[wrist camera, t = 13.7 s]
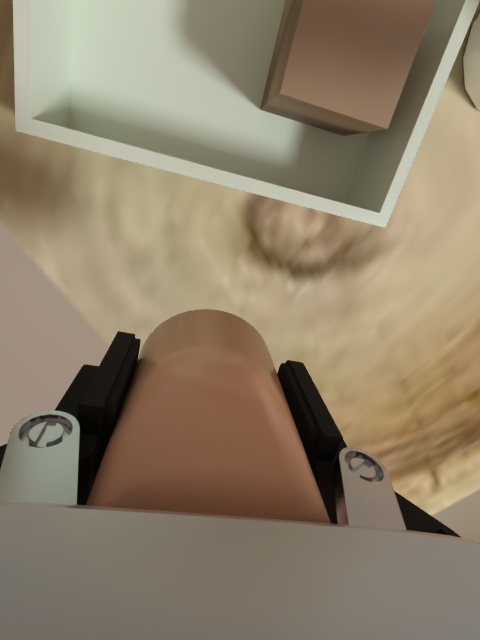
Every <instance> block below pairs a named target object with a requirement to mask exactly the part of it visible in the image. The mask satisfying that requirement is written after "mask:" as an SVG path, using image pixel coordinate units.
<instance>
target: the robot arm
mask: <svg viewBox="0 0 480 640" xmlns="http://www.w3.org/2000/svg"><path fill="white" fill-rule="evenodd" d="M139 347H140V339H135V334H131V333H125V332H119V331H118V333H117V334H116V336H115V338H114V340H113V342H112V344H111V345H110V347H109V349H108V351H107V353H106V355H105V357H104V358H103V360H102V362H101V364H100V366H92V365H83V367H82V368H81V369H80V371H79V373H78V374H77V376H76V377H75V379H74V380H73V382H72V384H71V385H70V387H69V389H68V390H67V392H66V393H65V395H64V396H63V398H62V399H61V401H60V403H59V404H58V406H57V408H56V409H55V411H50V410H49V411H42V412H37V413H34V414H31V415H29V416H27V417H25V418H23V419H21V420H20V421H19V422H18V423H17V424H16V425H15V426H14V427H13V429H12V431H11V433H10V437H9V440H8V444H5V445H3V446H0V640H480V543H479V542H476V541H473V540H469V539H465V538H461V537H460V536H459V535H458V534H456V533H455V532H454V531H453V530H451V529H450V528H448V527H447V526H445V525H444V524H442V523H441V522H439V521H438V520H436V519H435V518H433V517H432V516H430V515H429V514H427V513H426V512H425V511H423V510H422V509H420V508H419V507H417V506H416V505H414V504H413V503H411V502H410V501H408V500H407V499H405V498H404V497H402V496H401V495H399V494H398V493H396V492H395V491H394V489H393V486H392V483H391V480H390V476H389V473H388V471H387V469H386V468H385V466H384V465H383V464H382V463H381V461H379V460H378V459H377V458H376V457H375V456H373V455H372V454H370V453H368V452H367V451H364V450H362V449H359V448H355V447H347V446H346V444H345V442H344V440H343V437H342V435H341V433H340V431H339V430H338V428H337V426H336V424H335V422H334V420H333V418H332V416H331V415H330V413H329V411H328V409H327V407H326V405H325V403H324V401H323V399H322V398H321V396H320V394H319V392H318V390H317V388H316V386H315V384H314V383H313V381H312V379H311V377H310V375H309V373H308V371H307V369H306V368H305V366H304V364H303V363H301V362H296V361H290V360H288V361H286V363H282V364H281V365H280V367H279V370H278V373H277V375H278V378H279V381H280V384H281V386H282V389H283V392H284V395H285V397H286V400H287V403H288V406H289V408H290V411H291V414H292V417H293V420H294V422H295V425H296V428H297V431H298V433H299V436H300V439H301V442H302V445H303V447H304V450H305V453H306V456H307V458H308V461H309V464H310V467H311V469H312V472H313V475H314V478H315V481H316V483H317V486H318V489H319V492H320V494H321V497H322V500H323V503H324V505H325V508H326V511H327V514H328V517H329V519H330V522H331V524H329V523H317V522H305V521H293V520H280V519H267V518H254V517H241V516H227V515H214V514H201V513H187V512H173V511H159V510H144V509H130V508H116V507H101V506H87V505H86V503H87V500H88V498H89V495H90V492H91V489H92V487H93V484H94V481H95V478H96V475H97V473H98V470H99V467H100V464H101V461H102V459H103V456H104V453H105V450H106V447H107V445H108V442H109V440H110V437H111V434H112V431H113V428H114V426H115V423H116V420H117V417H118V414H119V412H120V409H121V406H122V403H123V400H124V397H125V395H126V392H127V389H128V386H129V383H130V381H131V378H132V375H133V372H134V369H135V367H136V364H137V361H138V354H139Z"/></svg>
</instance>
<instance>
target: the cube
mask: <svg viewBox="0 0 480 640" xmlns="http://www.w3.org/2000/svg"><path fill="white" fill-rule="evenodd" d="M435 2H436V0H285V4H284V9H283V13H282V17H281V21H280V26H279V30H278V34H277V38H276V43H275V47H274V51H273V56H272V60H271V64H270V68H269V73H268V77H267V81H266V85H265V90H264V94H263V98H262V102H261V107H260V110H263V111H266V112H269V113H272V114H275V115H278V116H282V117H285V118H288V119H291V120H294V121H297V122H301V123H304V124H307V125H310V126H313V127H317V128H320V129H323V130H326V131H329V132H332V133H336V134H339V135H342V136H346V135H353V134H359V133H366V132H372V131H378V130H385V129H388V127H389V124H390V122H391V119H392V116H393V114H394V111H395V108H396V106H397V103H398V100H399V98H400V95H401V92H402V90H403V87H404V84H405V82H406V79H407V76H408V74H409V71H410V68H411V66H412V63H413V60H414V58H415V55H416V52H417V50H418V47H419V44H420V42H421V39H422V36H423V34H424V31H425V28H426V26H427V23H428V20H429V18H430V15H431V12H432V10H433V7H434V4H435Z"/></svg>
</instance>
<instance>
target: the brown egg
mask: <svg viewBox="0 0 480 640" xmlns="http://www.w3.org/2000/svg"><path fill="white" fill-rule="evenodd" d="M86 505H87V506H101V507H116V508H130V509H144V510H159V511H173V512H187V513H201V514H214V515H227V516H241V517H254V518H267V519H280V520H293V521H305V522H317V523H329V524H331V522H330V519H329V517H328V514H327V511H326V508H325V505H324V503H323V500H322V497H321V494H320V492H319V489H318V486H317V483H316V481H315V478H314V475H313V472H312V469H311V467H310V464H309V461H308V458H307V456H306V453H305V450H304V447H303V445H302V442H301V439H300V436H299V433H298V431H297V428H296V425H295V422H294V420H293V417H292V414H291V411H290V408H289V406H288V403H287V400H286V397H285V395H284V392H283V389H282V386H281V384H280V381H279V378H278V375H277V372H276V370H275V367H274V364H273V361H272V359H271V356H270V353H269V350H268V348H267V345H266V343H265V341H264V340H263V338H262V336H261V335H260V334H259V333H258V331H257V330H256V329H255V328H254V327H253V326H251V325H250V324H249V323H248V322H246V321H245V320H243V319H242V318H240V317H237V316H235V315H233V314H230V313H227V312H223V311H219V310H209V309H203V310H193V311H188V312H184V313H181V314H178V315H176V316H174V317H171V318H170V319H168V320H166V321H165V322H163V323H162V324H161V325H159V326H158V327H157V328H156V329H155V330H154V331H153V332H152V333H151V334H150V336H149V337H148V338H147V340H146V341H145V343H144V345H143V347H142V350H141V353H140V355H139V358H138V361H137V364H136V367H135V369H134V372H133V375H132V378H131V381H130V383H129V386H128V389H127V392H126V395H125V397H124V400H123V403H122V406H121V409H120V412H119V414H118V417H117V420H116V423H115V426H114V428H113V431H112V434H111V437H110V440H109V442H108V445H107V447H106V450H105V453H104V456H103V459H102V461H101V464H100V467H99V470H98V473H97V475H96V478H95V481H94V484H93V487H92V489H91V492H90V495H89V498H88V500H87V503H86Z"/></svg>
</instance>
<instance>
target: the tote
mask: <svg viewBox="0 0 480 640" xmlns="http://www.w3.org/2000/svg"><path fill="white" fill-rule="evenodd" d="M479 2H480V0H436V2H435V4H434V7H433V10H432V12H431V15H430V18H429V20H428V23H427V26H426V28H425V31H424V34H423V36H422V39H421V42H420V44H419V47H418V50H417V52H416V55H415V58H414V60H413V63H412V66H411V68H410V71H409V74H408V76H407V79H406V82H405V84H404V87H403V90H402V92H401V95H400V98H399V100H398V103H397V106H396V108H395V111H394V114H393V116H392V119H391V122H390V124H389V127H388V129H385V130H378V131H372V132H366V133H359V134H353V135H346V136H342V135H339V134H336V133H332V132H329V131H326V130H323V129H320V128H317V127H313V126H310V125H307V124H304V123H301V122H297V121H294V120H291V119H288V118H285V117H282V116H278V115H275V114H272V113H269V112H266V111H263V110H260V107H261V102H262V98H263V94H264V90H265V85H266V81H267V77H268V73H269V68H270V64H271V60H272V56H273V51H274V47H275V43H276V38H277V34H278V30H279V26H280V21H281V17H282V13H283V9H284V4H285V0H13V33H14V82H15V131H18V132H21V133H25V134H29V135H33V136H37V137H40V138H44V139H48V140H52V141H56V142H60V143H63V144H67V145H71V146H75V147H79V148H82V149H86V150H90V151H94V152H98V153H102V154H105V155H109V156H113V157H117V158H121V159H124V160H128V161H132V162H136V163H140V164H143V165H147V166H151V167H155V168H159V169H163V170H166V171H170V172H174V173H178V174H182V175H185V176H189V177H193V178H197V179H201V180H205V181H208V182H212V183H216V184H220V185H224V186H227V187H231V188H235V189H239V190H243V191H247V192H250V193H254V194H258V195H262V196H266V197H269V198H273V199H277V200H281V201H285V202H288V203H292V204H296V205H300V206H304V207H308V208H311V209H315V210H319V211H323V212H327V213H330V214H334V215H338V216H342V217H346V218H350V219H353V220H357V221H361V222H365V223H369V224H372V225H376V226H380V227H384V228H385V227H386V225H387V222H388V220H389V218H390V215H391V213H392V210H393V208H394V206H395V203H396V201H397V199H398V196H399V194H400V191H401V189H402V187H403V184H404V182H405V179H406V177H407V175H408V172H409V170H410V167H411V165H412V163H413V160H414V158H415V155H416V153H417V151H418V148H419V146H420V143H421V141H422V139H423V136H424V134H425V131H426V129H427V127H428V124H429V122H430V119H431V117H432V115H433V112H434V110H435V107H436V105H437V103H438V100H439V98H440V95H441V93H442V91H443V88H444V86H445V83H446V81H447V79H448V76H449V74H450V71H451V69H452V67H453V64H454V62H455V59H456V57H457V55H458V52H459V50H460V47H461V45H462V43H463V40H464V38H465V35H466V33H467V31H468V28H469V26H470V23H471V21H472V19H473V16H474V14H475V11H476V9H477V7H478V4H479Z"/></svg>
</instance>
